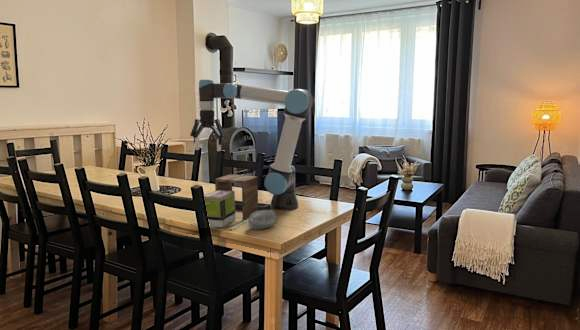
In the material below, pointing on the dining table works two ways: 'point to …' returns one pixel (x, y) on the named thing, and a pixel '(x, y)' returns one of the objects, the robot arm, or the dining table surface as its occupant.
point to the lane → (235, 225)
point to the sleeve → (247, 191)
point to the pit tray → (260, 206)
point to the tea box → (220, 207)
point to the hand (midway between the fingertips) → (208, 150)
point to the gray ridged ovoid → (262, 219)
